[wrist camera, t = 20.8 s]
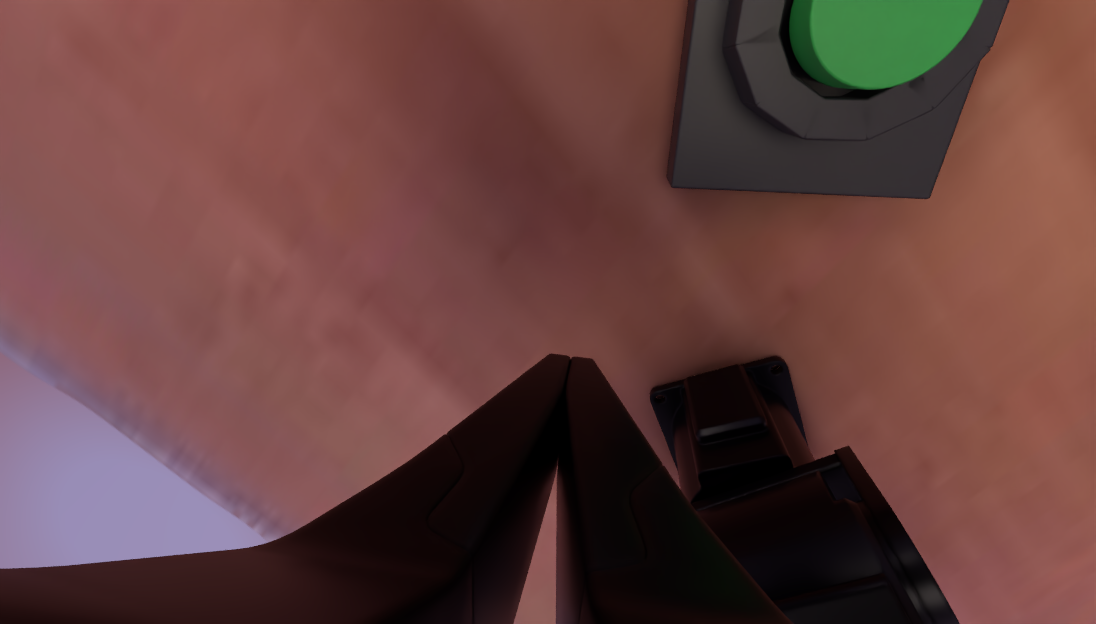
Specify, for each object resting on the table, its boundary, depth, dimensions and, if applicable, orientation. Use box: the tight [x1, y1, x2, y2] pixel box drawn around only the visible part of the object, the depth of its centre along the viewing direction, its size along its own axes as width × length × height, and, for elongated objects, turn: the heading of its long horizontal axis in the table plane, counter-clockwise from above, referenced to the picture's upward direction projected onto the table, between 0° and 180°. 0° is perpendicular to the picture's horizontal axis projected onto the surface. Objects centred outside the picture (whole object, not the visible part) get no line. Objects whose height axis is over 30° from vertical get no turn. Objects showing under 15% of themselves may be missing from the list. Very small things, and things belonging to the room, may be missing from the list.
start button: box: [789, 0, 983, 90], centre depth 13 cm, size 4×4×2 cm
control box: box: [667, 0, 1009, 199], centre depth 15 cm, size 11×9×4 cm
